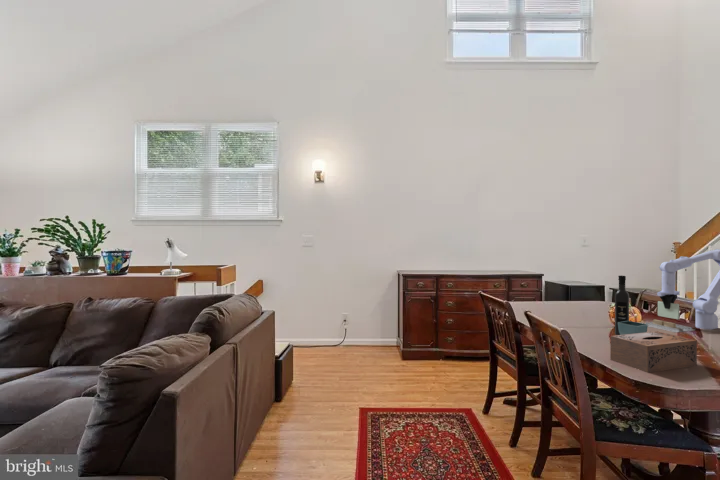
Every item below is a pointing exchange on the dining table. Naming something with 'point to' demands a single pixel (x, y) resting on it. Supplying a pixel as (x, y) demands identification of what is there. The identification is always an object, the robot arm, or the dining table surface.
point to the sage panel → (668, 310)
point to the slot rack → (678, 327)
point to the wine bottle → (621, 304)
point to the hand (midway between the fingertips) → (668, 308)
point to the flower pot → (631, 327)
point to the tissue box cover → (653, 351)
